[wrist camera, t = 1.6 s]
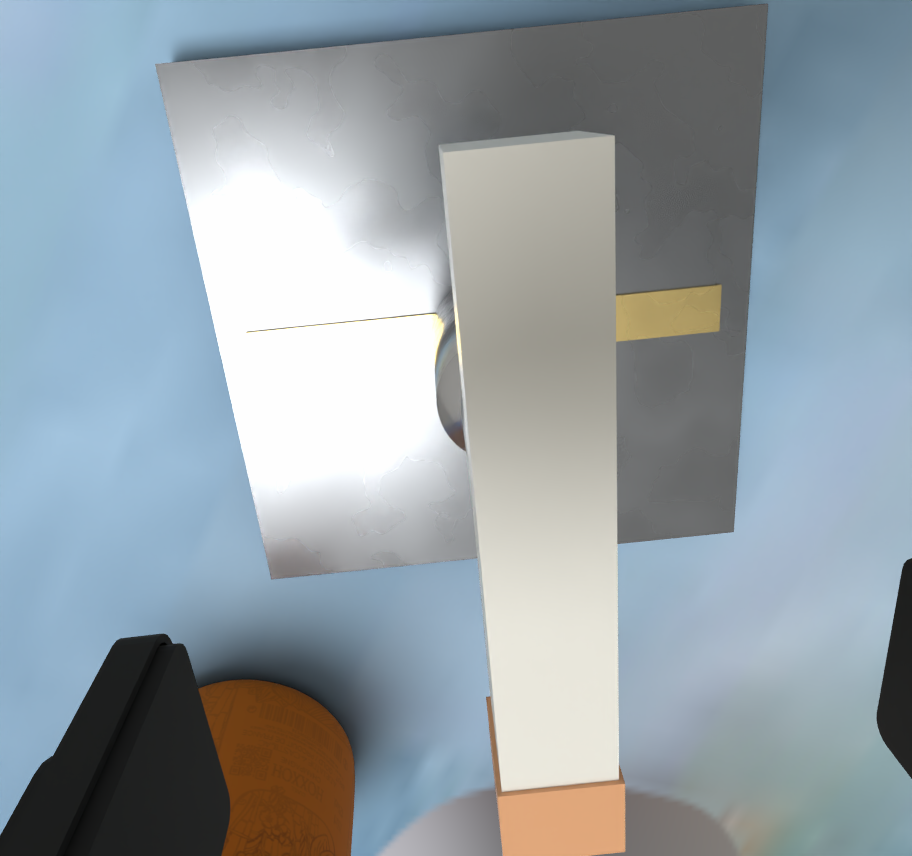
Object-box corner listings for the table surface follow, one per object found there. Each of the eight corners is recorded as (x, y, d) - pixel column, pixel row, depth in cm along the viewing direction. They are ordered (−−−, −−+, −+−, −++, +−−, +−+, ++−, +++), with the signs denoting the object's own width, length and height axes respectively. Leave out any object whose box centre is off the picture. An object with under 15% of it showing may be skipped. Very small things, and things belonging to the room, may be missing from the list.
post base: (747, 10, 23) (899, -37, 16) (719, 512, 30) (815, 641, 23) (170, 67, 23) (54, 46, 16) (278, 558, 30) (232, 701, 23)
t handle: (547, 125, 16) (623, 134, 10) (567, 644, 22) (625, 851, 16) (429, 137, 16) (435, 153, 10) (480, 653, 22) (503, 864, 16)
